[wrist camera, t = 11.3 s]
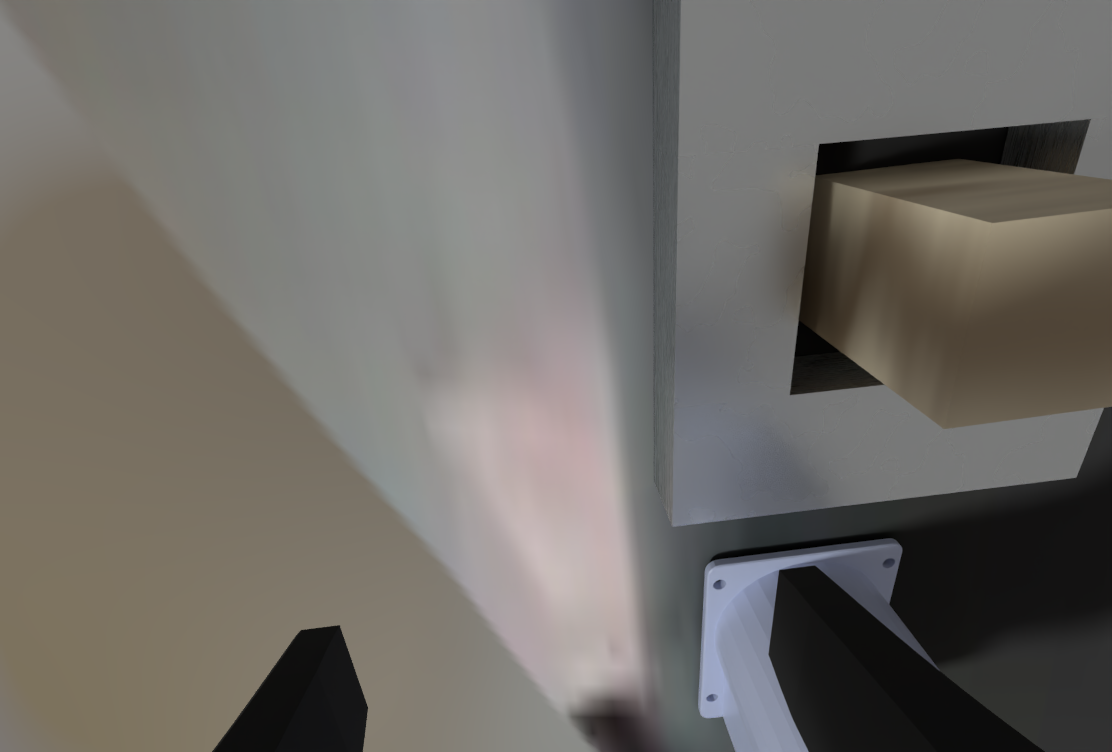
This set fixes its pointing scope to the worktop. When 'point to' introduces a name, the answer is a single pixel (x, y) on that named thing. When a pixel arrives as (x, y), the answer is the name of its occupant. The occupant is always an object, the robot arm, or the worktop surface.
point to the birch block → (967, 286)
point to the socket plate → (783, 226)
